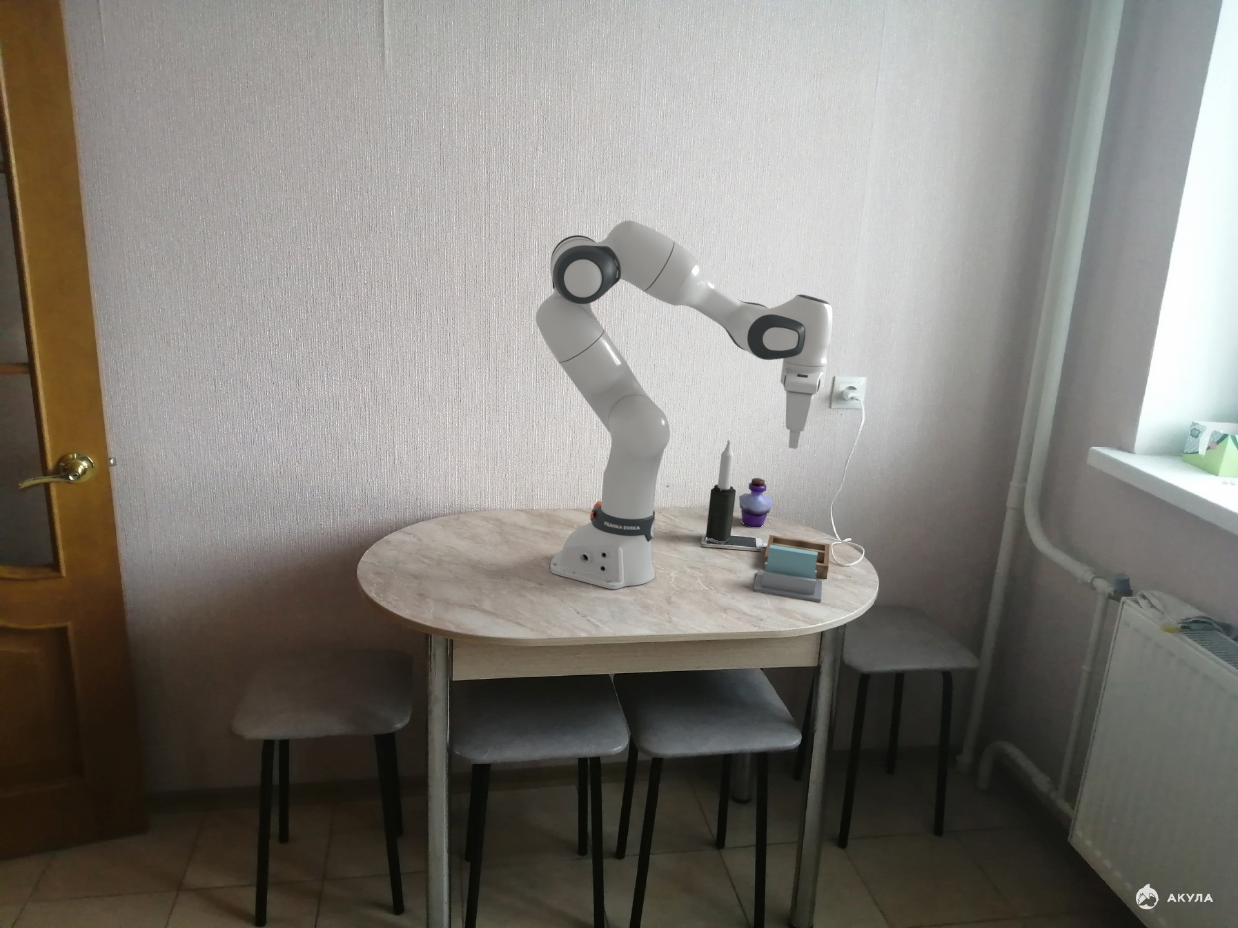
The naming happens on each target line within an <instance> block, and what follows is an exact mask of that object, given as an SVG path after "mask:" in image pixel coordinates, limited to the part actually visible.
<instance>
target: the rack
mask: <svg viewBox="0 0 1238 928" xmlns="http://www.w3.org/2000/svg"><path fill="white" fill-rule="evenodd" d="M830 544H831V543H830ZM830 544H829V543H824V542H817V541H811V540H804V539H798V538H791V537H786V536H781V535H780V536H779V535H772V534H769V537H768V541H767V546H766V550H765V554H764V560H763V568H762V569H763V570H764V569H765V562H767V561H768V554H769V547H770V545H777V546H783V547H789V548H796V549H802V550H808V551H815V552H818V553H817V561H816V568H815V570H816V571H817V574H816V578H818V579H824V580H825V579H828V573H829V565H830Z"/></svg>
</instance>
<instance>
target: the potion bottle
mask: <svg viewBox="0 0 1238 928" xmlns="http://www.w3.org/2000/svg"><path fill="white" fill-rule="evenodd" d="M765 482H766V481H765V479H762V478H758V477H754V478H752V479H751V482H749V483H748V490H750V493H743V494H741V495H739V496H738V499H739V501H738V502H739V509H741V511H740V512H741V520H742V521H741V523H742V522H743V523H744V525H747V526H750V527H761V526H762V525H763V526H764V524H765V521H766V519H767V516H768V514H769V513H770V511H771V508H772V505H773V503H774V501H773V499H772V498H771V497H770V496H766V495H763V494H764V492H766V491H767V484H766V483H765ZM744 525H743V526H744ZM747 526H746V527H747ZM750 527H749V528H750ZM761 528H762V527H761Z"/></svg>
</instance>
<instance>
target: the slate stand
mask: <svg viewBox="0 0 1238 928" xmlns="http://www.w3.org/2000/svg"><path fill="white" fill-rule="evenodd" d="M766 569H767V562H765V569H763V570H760V569H758V570H757V573H756V577H755V580H754V585H753V587H752V588H753V589H752V591H753V592H759V593H764V594H769V595H776V596H782V597H787V598H792V599H799V600H803V601H804V600H805V601H809V602H810V601H811V602H816V603H821V601H822V590H823V580H821V579H820V580H818V579H817V577H816V574H817V571H816V570H815V574H814V579H810V578H804V577H798V576H792V575H786V574H779V573H773V572H767V571H766Z"/></svg>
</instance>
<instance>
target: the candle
mask: <svg viewBox="0 0 1238 928" xmlns="http://www.w3.org/2000/svg"><path fill="white" fill-rule="evenodd" d="M731 442H732V441H731V440H730V439H728V440H727V444H726V446H725V448H724V450H723V451H722V452H721V454H720V462H719V472H718V481H717V484H715V485H714V486H713V488H711V489H710V496H709V505H708V506H709V507H708V514H707V520H706V521H707V522H706V531H705V538H706V537H708V538H713V539H715V540H718V541H726V540H727V539H728V538H729V537H730V538H731V536H732V535H731V534H732V527H733V518H734V509H735V502H736V495H737V494H736V492H737V490H736V489H735V488H734V487H733V486H731V485H732V484H731V483H732V474H733V465H734V457H735V455H734V452H733V449H732V446H731Z"/></svg>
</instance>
